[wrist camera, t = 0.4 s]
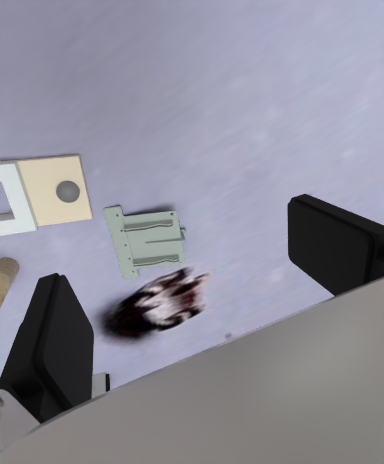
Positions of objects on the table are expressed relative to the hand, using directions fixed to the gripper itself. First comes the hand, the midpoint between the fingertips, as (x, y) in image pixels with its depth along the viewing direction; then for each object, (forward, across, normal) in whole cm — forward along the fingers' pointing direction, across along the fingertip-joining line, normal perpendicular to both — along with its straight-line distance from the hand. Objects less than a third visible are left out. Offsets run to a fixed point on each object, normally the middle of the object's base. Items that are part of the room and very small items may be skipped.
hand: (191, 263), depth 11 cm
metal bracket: (+36, 0, +16) cm, 40 cm away
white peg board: (+36, +20, +2) cm, 41 cm away
